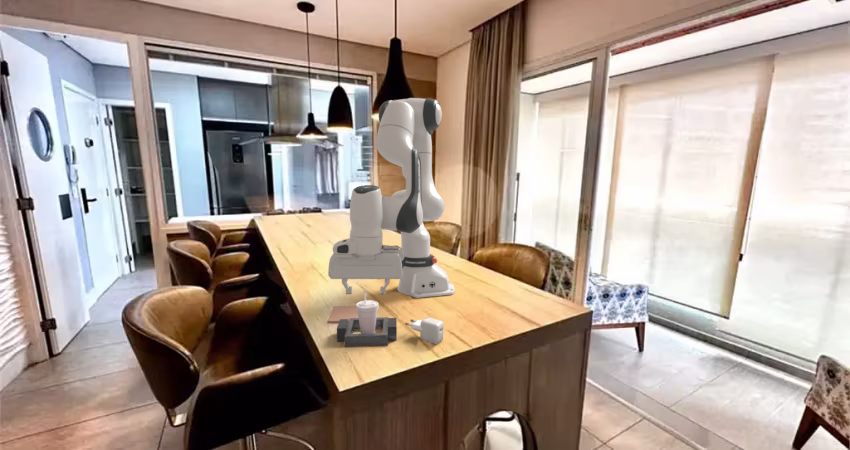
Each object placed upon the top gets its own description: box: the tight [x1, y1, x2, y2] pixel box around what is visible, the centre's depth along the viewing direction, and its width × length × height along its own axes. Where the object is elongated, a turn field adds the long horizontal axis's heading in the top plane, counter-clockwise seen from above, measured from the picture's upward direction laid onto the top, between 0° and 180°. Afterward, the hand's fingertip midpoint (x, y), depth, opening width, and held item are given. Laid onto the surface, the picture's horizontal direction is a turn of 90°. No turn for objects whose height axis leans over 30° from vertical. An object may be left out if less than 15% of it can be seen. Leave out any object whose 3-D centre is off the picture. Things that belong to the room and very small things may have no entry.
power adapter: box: [404, 316, 444, 345], centre depth 102 cm, size 11×5×6 cm, turn 57°
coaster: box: [326, 305, 358, 325], centre depth 117 cm, size 12×12×1 cm
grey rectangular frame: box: [336, 316, 398, 348], centre depth 103 cm, size 16×12×4 cm
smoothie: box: [355, 288, 380, 334], centre depth 102 cm, size 6×6×14 cm
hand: (366, 293), depth 100 cm, fingers open, 8 cm apart
